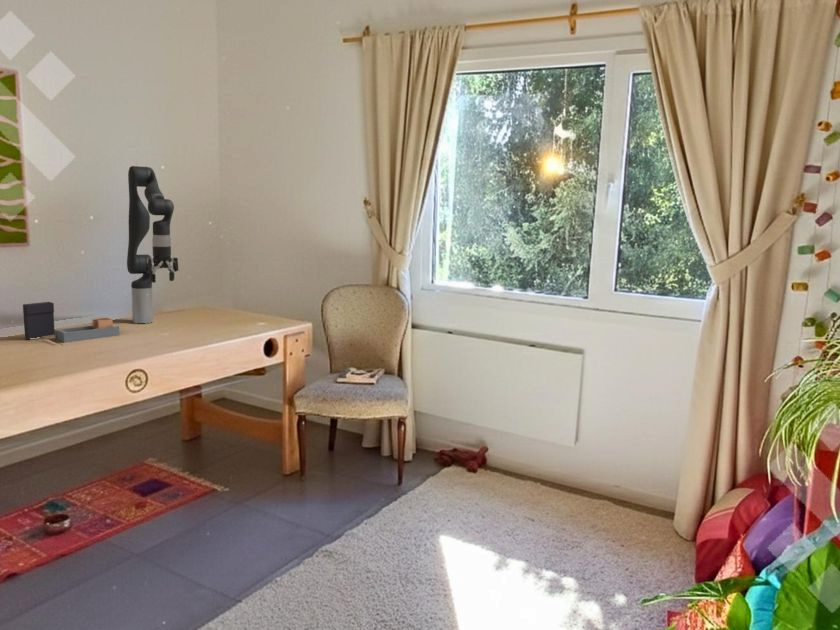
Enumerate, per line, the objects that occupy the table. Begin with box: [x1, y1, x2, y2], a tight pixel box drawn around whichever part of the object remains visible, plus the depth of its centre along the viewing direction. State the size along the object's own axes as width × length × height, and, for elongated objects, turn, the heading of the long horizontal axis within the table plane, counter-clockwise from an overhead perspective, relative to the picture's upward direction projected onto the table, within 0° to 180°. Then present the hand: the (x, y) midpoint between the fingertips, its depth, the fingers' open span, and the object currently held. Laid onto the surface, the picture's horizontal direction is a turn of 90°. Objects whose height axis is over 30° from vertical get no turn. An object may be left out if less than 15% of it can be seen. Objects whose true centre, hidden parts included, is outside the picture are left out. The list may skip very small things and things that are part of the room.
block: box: [92, 317, 114, 329], centre depth 286 cm, size 6×6×7 cm
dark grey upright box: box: [22, 301, 55, 340], centre depth 280 cm, size 11×4×15 cm, turn 145°
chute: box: [54, 324, 120, 346], centre depth 282 cm, size 12×26×5 cm, turn 140°
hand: (162, 281), depth 290 cm, fingers open, 8 cm apart
